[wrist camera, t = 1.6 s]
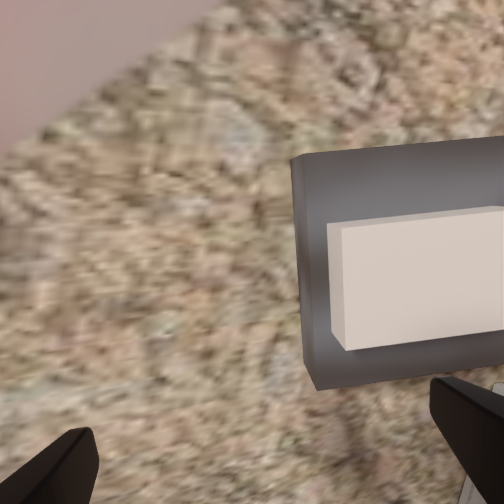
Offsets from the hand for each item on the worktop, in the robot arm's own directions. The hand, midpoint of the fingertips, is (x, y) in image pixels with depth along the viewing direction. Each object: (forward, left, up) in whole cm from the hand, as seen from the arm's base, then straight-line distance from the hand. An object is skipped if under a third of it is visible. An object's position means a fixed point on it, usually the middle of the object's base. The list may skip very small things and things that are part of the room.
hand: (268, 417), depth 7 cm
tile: (0, -9, -8) cm, 12 cm away
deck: (0, -9, -12) cm, 15 cm away
